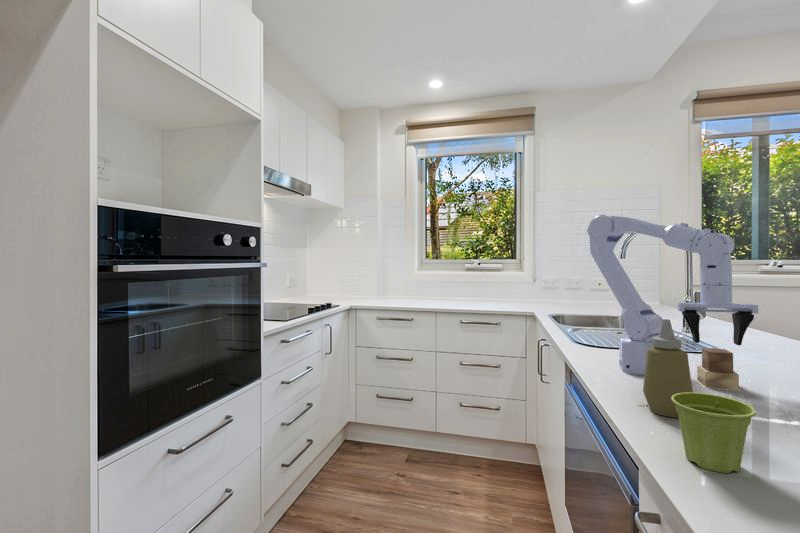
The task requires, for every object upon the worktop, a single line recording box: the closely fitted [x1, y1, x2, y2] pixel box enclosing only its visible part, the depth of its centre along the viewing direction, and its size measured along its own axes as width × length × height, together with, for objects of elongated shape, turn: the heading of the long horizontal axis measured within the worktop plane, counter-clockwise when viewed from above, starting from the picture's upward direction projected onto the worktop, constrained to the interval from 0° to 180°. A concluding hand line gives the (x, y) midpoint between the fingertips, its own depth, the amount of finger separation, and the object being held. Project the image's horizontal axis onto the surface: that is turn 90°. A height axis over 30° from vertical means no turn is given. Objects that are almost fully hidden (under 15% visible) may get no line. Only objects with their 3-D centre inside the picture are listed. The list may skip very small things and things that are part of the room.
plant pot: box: [671, 392, 757, 474], centre depth 55 cm, size 9×9×9 cm
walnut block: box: [701, 347, 734, 373], centre depth 88 cm, size 4×4×4 cm
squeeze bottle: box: [642, 318, 694, 418], centre depth 74 cm, size 8×8×18 cm
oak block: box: [696, 365, 740, 391], centre depth 88 cm, size 6×6×4 cm
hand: (716, 343), depth 89 cm, fingers open, 7 cm apart
